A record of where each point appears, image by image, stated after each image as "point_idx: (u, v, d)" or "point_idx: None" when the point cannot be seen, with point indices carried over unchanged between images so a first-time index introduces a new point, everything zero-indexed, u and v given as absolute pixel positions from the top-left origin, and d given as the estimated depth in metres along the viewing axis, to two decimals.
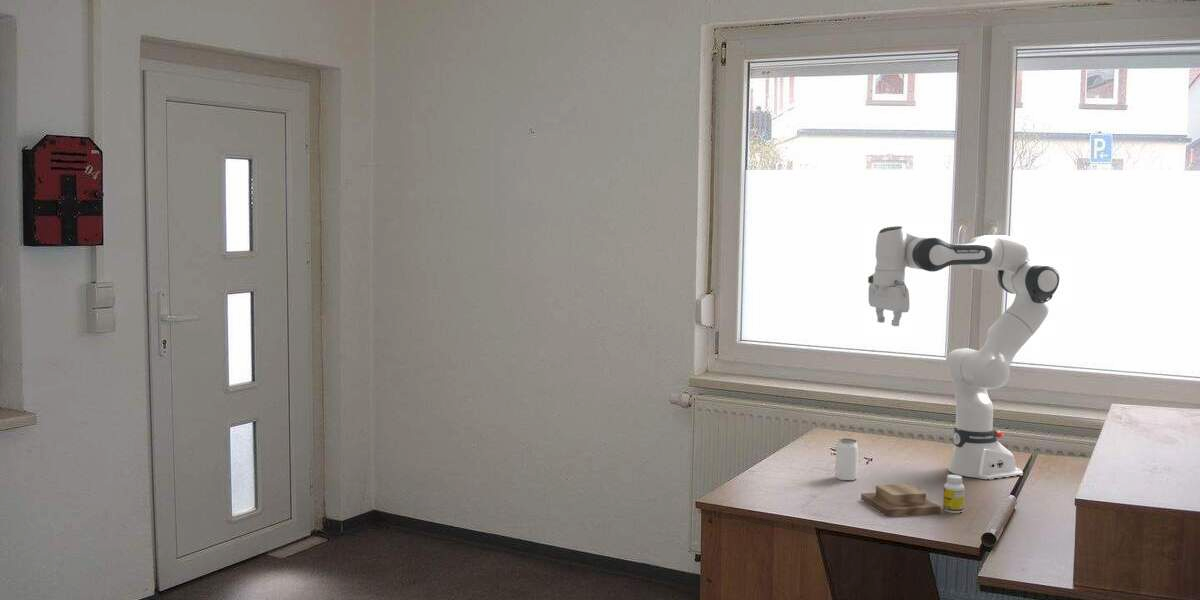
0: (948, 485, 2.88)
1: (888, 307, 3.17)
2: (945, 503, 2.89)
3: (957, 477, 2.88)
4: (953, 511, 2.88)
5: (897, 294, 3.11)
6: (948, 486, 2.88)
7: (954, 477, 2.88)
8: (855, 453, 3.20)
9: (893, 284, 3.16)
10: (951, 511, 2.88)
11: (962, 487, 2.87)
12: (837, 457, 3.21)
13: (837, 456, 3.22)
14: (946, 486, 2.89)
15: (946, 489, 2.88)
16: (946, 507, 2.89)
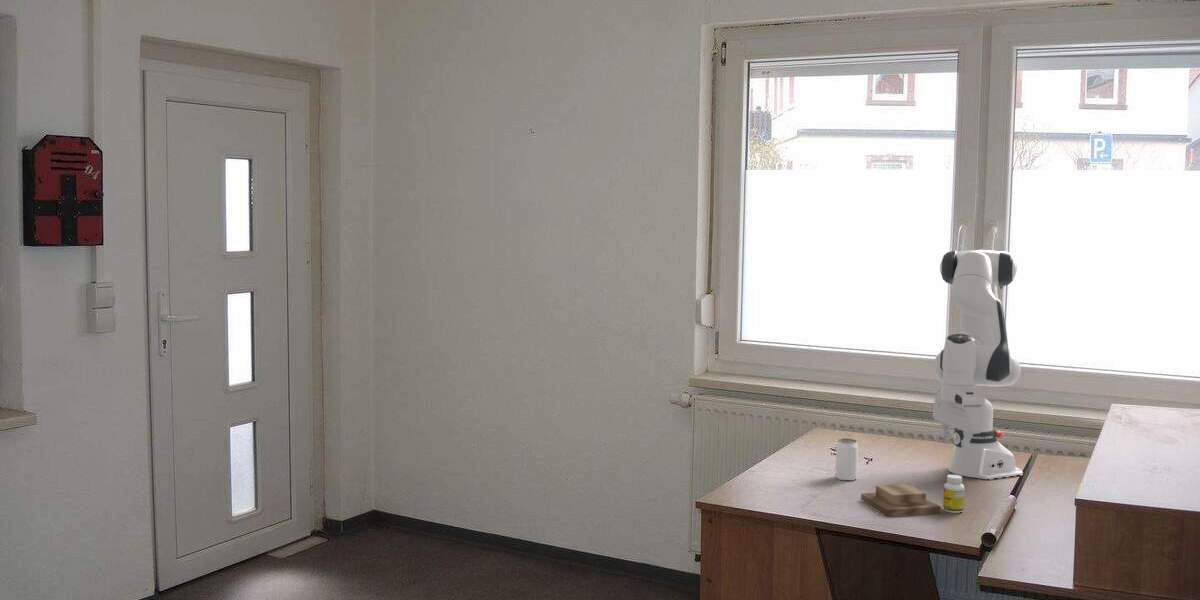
0: (948, 485, 2.88)
1: None
2: (945, 503, 2.89)
3: (957, 477, 2.88)
4: (953, 511, 2.88)
5: None
6: (948, 486, 2.88)
7: (954, 477, 2.88)
8: (855, 453, 3.20)
9: None
10: (951, 511, 2.88)
11: (962, 487, 2.87)
12: (837, 457, 3.21)
13: (837, 456, 3.22)
14: (946, 486, 2.89)
15: (946, 489, 2.88)
16: (946, 507, 2.89)
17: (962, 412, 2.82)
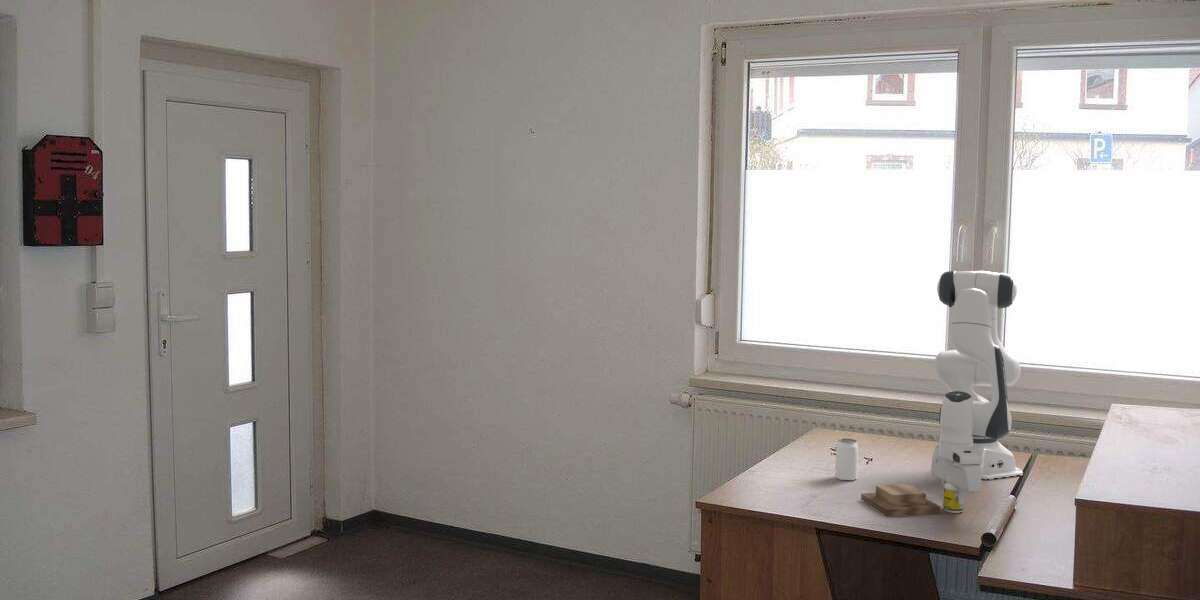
0: (948, 485, 2.88)
1: None
2: (945, 503, 2.89)
3: None
4: (953, 511, 2.88)
5: None
6: (948, 486, 2.88)
7: None
8: (855, 453, 3.20)
9: None
10: (951, 511, 2.88)
11: None
12: (837, 457, 3.21)
13: (837, 456, 3.22)
14: (946, 486, 2.89)
15: (946, 488, 2.88)
16: (946, 507, 2.89)
17: (960, 470, 2.83)
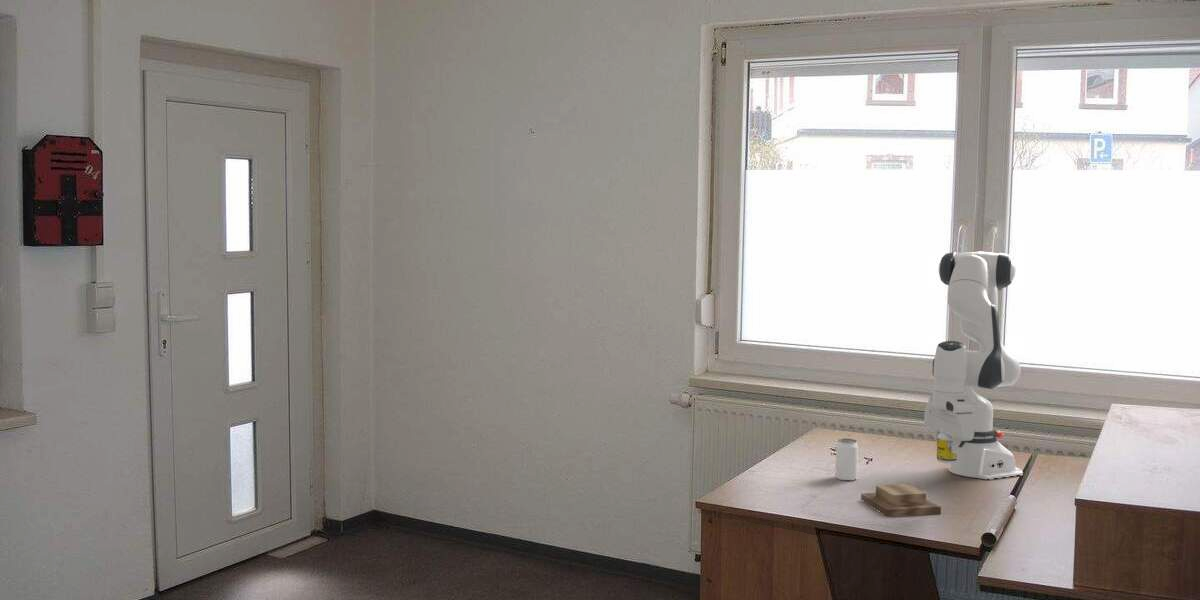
0: (941, 435, 2.88)
1: None
2: (938, 453, 2.88)
3: None
4: (946, 461, 2.87)
5: None
6: (941, 436, 2.87)
7: None
8: (855, 453, 3.20)
9: None
10: (944, 461, 2.87)
11: None
12: (837, 457, 3.21)
13: (837, 456, 3.22)
14: (939, 436, 2.88)
15: (939, 439, 2.88)
16: (940, 457, 2.88)
17: (953, 419, 2.83)
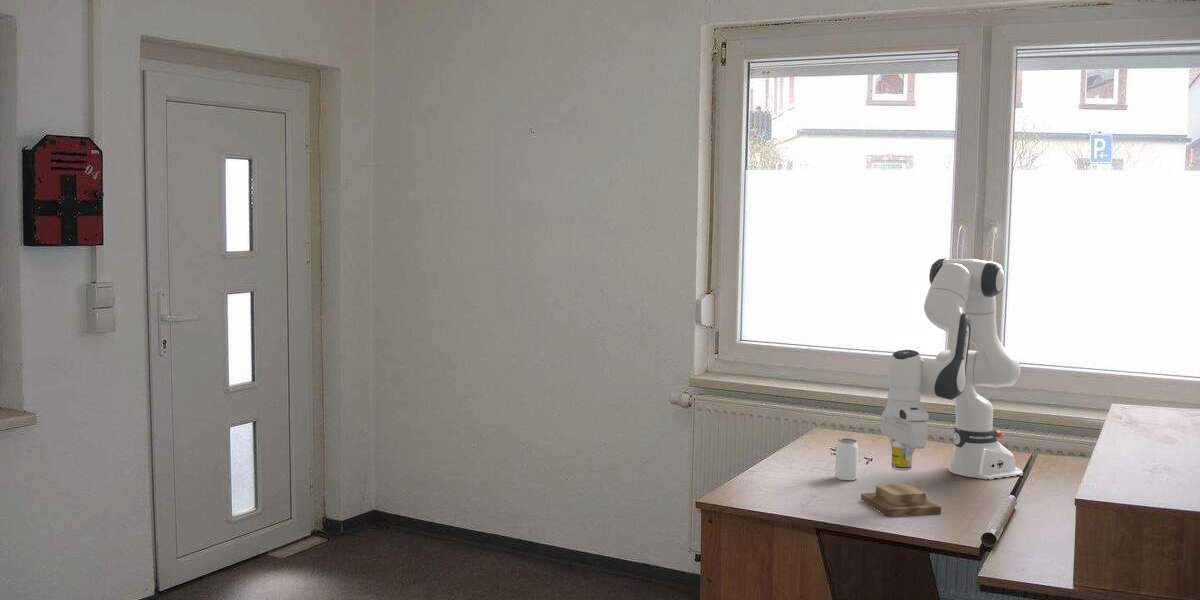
0: (896, 443, 2.91)
1: None
2: (893, 461, 2.91)
3: None
4: (901, 468, 2.90)
5: None
6: (895, 444, 2.90)
7: None
8: (855, 453, 3.20)
9: None
10: (899, 468, 2.90)
11: None
12: (837, 457, 3.21)
13: (837, 456, 3.22)
14: (894, 444, 2.91)
15: (894, 446, 2.91)
16: (894, 465, 2.91)
17: (907, 427, 2.86)
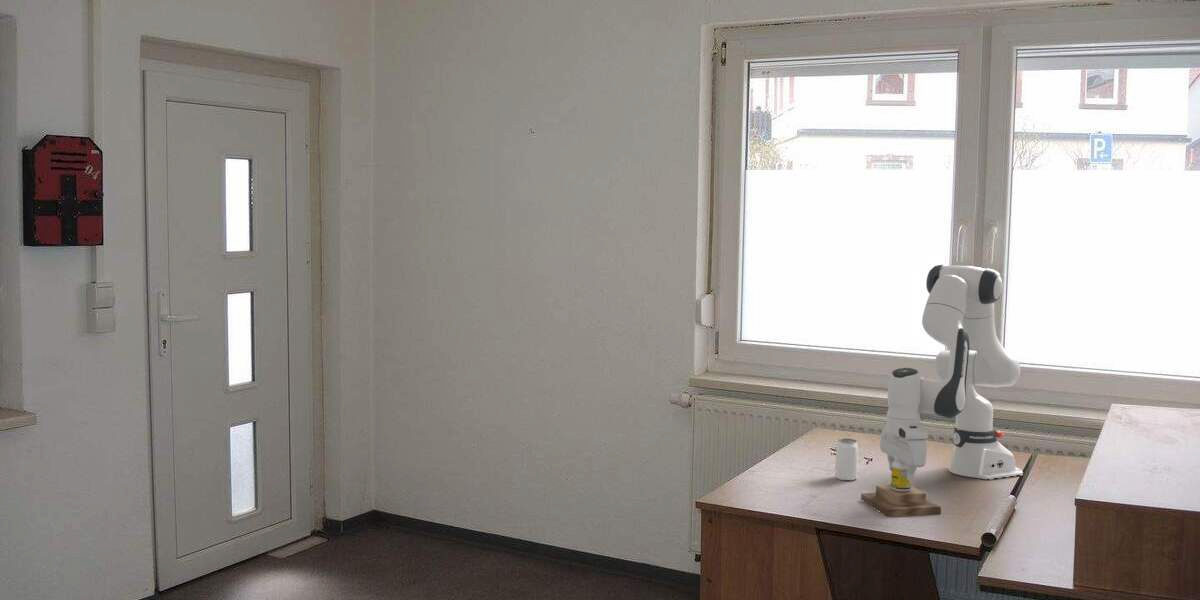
0: (895, 464, 2.91)
1: None
2: (892, 482, 2.92)
3: None
4: (900, 489, 2.90)
5: None
6: (895, 465, 2.91)
7: None
8: (855, 453, 3.20)
9: None
10: (898, 489, 2.91)
11: None
12: (837, 457, 3.21)
13: (837, 456, 3.22)
14: (893, 465, 2.92)
15: (893, 467, 2.91)
16: (894, 486, 2.92)
17: (906, 445, 2.86)
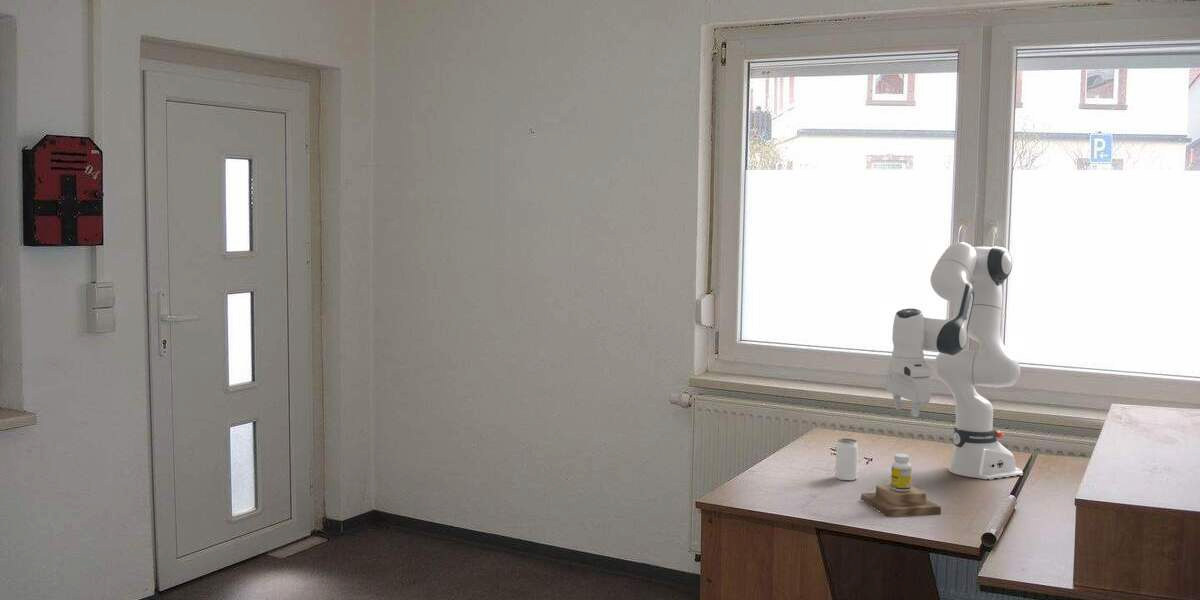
0: (895, 464, 2.91)
1: None
2: (892, 482, 2.92)
3: (904, 456, 2.91)
4: (900, 489, 2.90)
5: None
6: (895, 465, 2.91)
7: (901, 456, 2.91)
8: (855, 453, 3.20)
9: None
10: (898, 489, 2.91)
11: (909, 466, 2.90)
12: (837, 457, 3.21)
13: (837, 456, 3.22)
14: (893, 465, 2.92)
15: (893, 467, 2.91)
16: (894, 486, 2.92)
17: (911, 383, 2.96)
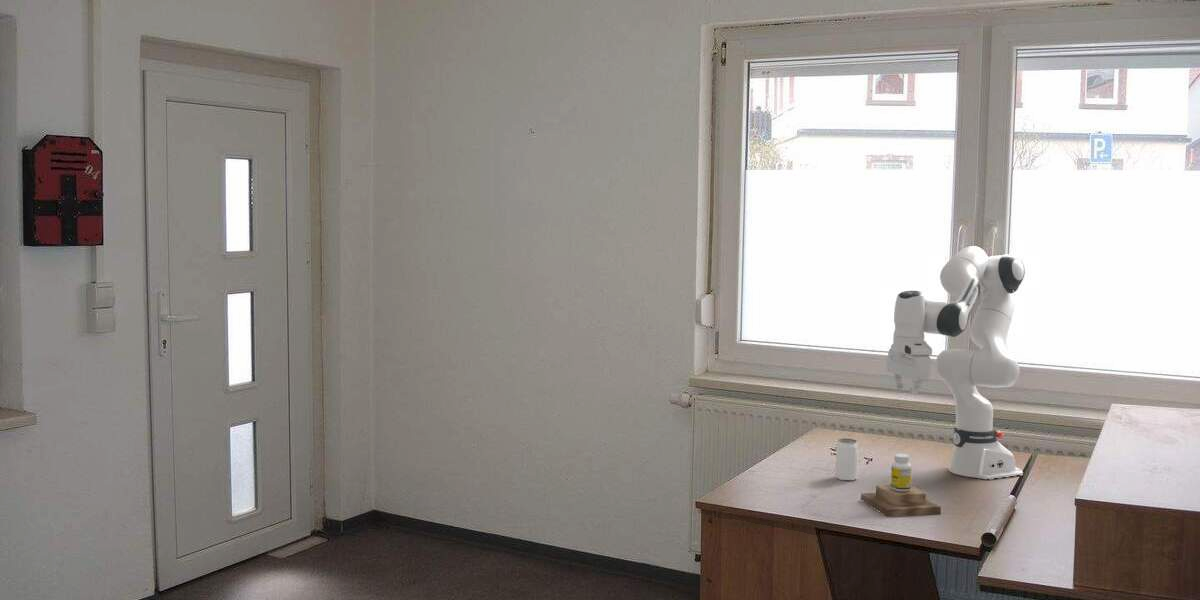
0: (895, 464, 2.91)
1: None
2: (892, 482, 2.92)
3: (904, 456, 2.91)
4: (900, 489, 2.90)
5: None
6: (895, 465, 2.91)
7: (901, 456, 2.91)
8: (855, 453, 3.20)
9: None
10: (898, 489, 2.91)
11: (909, 466, 2.90)
12: (838, 457, 3.21)
13: (837, 456, 3.22)
14: (893, 465, 2.92)
15: (893, 467, 2.91)
16: (894, 486, 2.92)
17: (911, 362, 3.05)
